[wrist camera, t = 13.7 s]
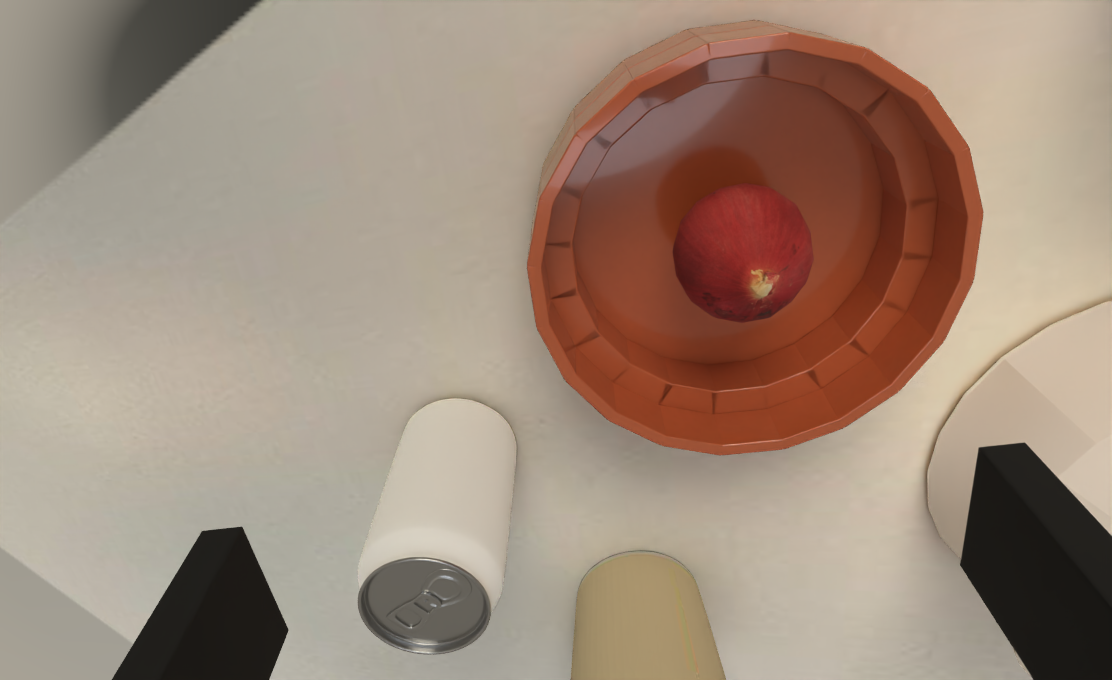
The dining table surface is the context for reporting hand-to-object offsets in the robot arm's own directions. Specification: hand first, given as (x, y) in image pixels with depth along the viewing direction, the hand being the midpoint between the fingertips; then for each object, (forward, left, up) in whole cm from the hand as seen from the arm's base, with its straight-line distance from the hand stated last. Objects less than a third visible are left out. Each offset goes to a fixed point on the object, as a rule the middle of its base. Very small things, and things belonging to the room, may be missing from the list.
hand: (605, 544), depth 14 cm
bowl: (+3, +7, -24) cm, 25 cm away
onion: (+3, +7, -24) cm, 25 cm away
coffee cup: (+27, +1, -24) cm, 36 cm away
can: (+14, -8, -24) cm, 29 cm away
